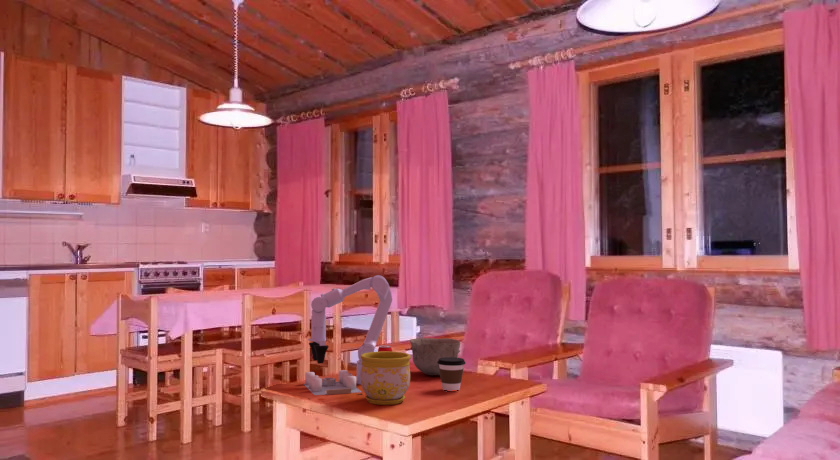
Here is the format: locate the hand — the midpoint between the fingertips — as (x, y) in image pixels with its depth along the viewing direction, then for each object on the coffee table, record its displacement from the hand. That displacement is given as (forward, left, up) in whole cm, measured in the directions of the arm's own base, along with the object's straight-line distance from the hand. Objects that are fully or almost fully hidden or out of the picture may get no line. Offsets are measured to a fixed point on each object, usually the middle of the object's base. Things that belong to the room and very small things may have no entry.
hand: (318, 361), depth 263 cm
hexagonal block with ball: (-3, +5, -8) cm, 10 cm away
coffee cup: (-47, +24, -10) cm, 54 cm away
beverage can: (-33, -17, -10) cm, 39 cm away
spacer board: (-3, +10, -9) cm, 14 cm away
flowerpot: (-17, +34, -10) cm, 39 cm away
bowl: (-53, -8, -10) cm, 55 cm away
